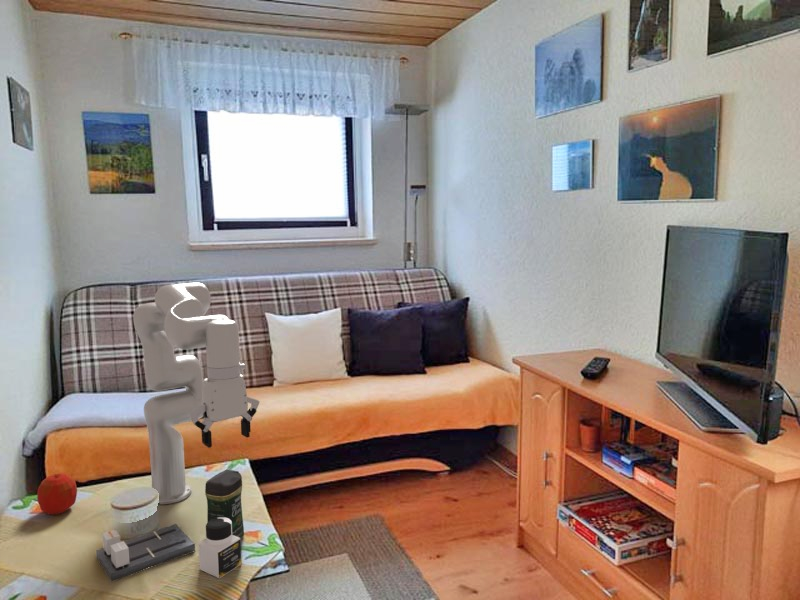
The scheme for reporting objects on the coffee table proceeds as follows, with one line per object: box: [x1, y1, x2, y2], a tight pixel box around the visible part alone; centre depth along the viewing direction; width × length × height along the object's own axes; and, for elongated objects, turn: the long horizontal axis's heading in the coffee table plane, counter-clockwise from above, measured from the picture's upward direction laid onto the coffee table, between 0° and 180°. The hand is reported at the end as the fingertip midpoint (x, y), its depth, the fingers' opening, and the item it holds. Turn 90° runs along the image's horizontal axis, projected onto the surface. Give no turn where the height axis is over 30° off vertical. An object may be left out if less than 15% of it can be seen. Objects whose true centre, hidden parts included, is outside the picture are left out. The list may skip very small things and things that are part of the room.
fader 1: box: [101, 529, 121, 555], centre depth 149 cm, size 4×3×4 cm
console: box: [95, 523, 196, 583], centre depth 151 cm, size 13×20×2 cm, turn 130°
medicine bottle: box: [198, 517, 242, 579], centre depth 145 cm, size 7×7×12 cm
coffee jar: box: [204, 469, 245, 541], centre depth 156 cm, size 10×8×19 cm
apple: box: [36, 473, 78, 516], centre depth 173 cm, size 10×10×12 cm
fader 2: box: [110, 540, 130, 568], centre depth 144 cm, size 4×3×4 cm
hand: (227, 440), depth 145 cm, fingers open, 9 cm apart
